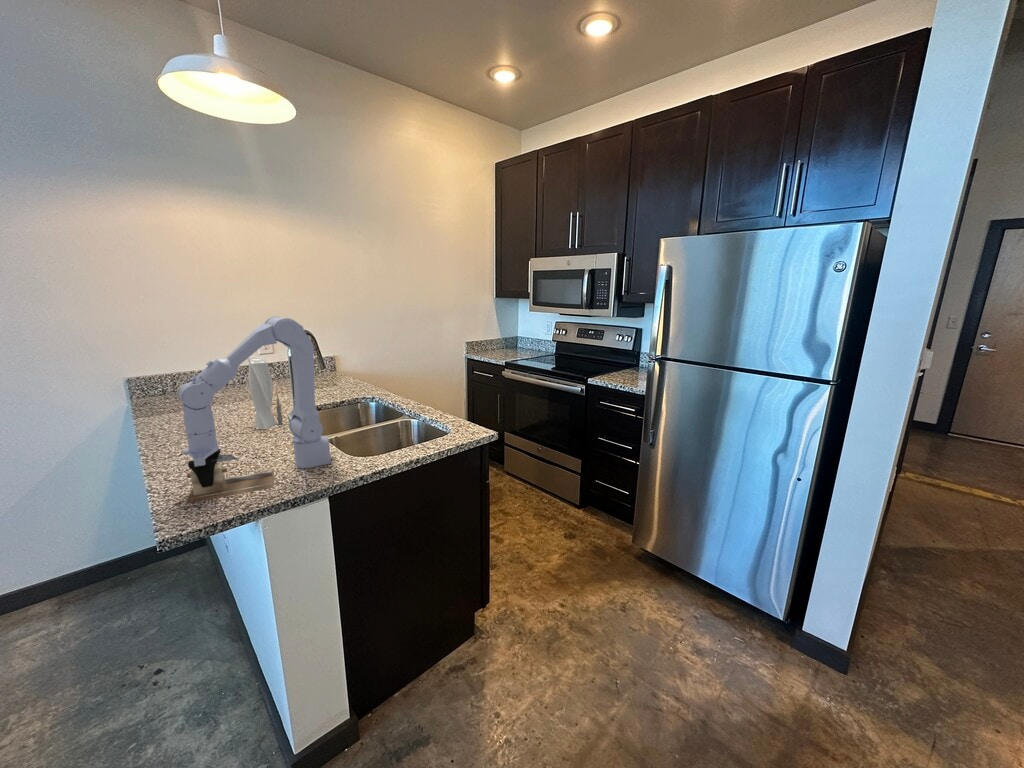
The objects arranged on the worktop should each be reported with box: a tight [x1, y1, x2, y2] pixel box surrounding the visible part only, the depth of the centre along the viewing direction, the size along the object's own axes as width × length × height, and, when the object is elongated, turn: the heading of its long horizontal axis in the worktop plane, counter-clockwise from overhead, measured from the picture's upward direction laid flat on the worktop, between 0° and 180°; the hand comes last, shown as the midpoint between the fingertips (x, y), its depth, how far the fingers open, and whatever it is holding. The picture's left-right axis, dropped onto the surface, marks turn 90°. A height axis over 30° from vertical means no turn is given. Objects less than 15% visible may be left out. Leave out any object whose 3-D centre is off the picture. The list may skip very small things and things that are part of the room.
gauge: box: [186, 461, 228, 495], centre depth 103 cm, size 8×4×6 cm, turn 119°
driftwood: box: [217, 453, 239, 463], centre depth 124 cm, size 21×7×2 cm, turn 54°
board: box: [185, 469, 275, 505], centre depth 106 cm, size 18×12×2 cm, turn 119°
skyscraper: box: [246, 356, 284, 429], centre depth 153 cm, size 8×8×28 cm
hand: (209, 482), depth 103 cm, fingers closed on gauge, 4 cm apart
